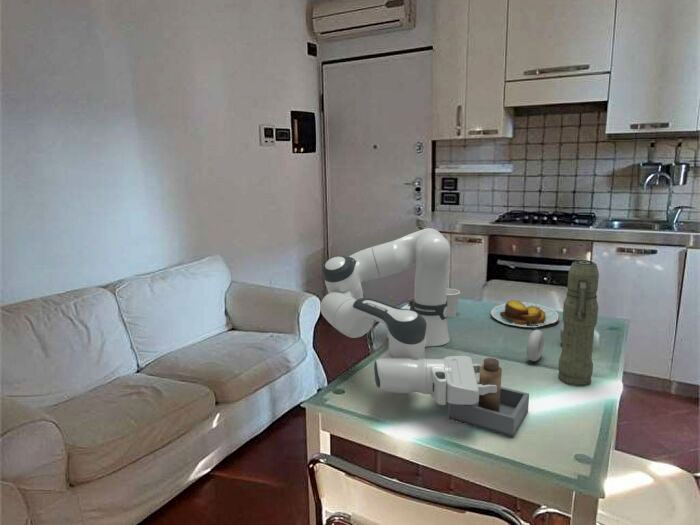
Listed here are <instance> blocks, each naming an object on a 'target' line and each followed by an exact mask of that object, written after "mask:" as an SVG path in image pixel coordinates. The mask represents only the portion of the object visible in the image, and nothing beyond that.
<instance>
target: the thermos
mask: <svg viewBox="0 0 700 525" xmlns="http://www.w3.org/2000/svg"><path fill="white" fill-rule="evenodd" d="M567 275H568V276H567V287H566V288H567V292H566V297H565V300H564V302H563V307H562V308H563V310H562V320H563V322H564V330H563V342H561V353H560V355H559V358H558V367H557V368H558V374H557V375H558V377H557V378H558V380H559V381H560V382H562V383H564V384H566V385H569V386H573V387H587V386H586V385H588V386H590V385H591V383H592V375H593V373H594V372H593V371H594V363H593V360H592V358H593V347H594V335H595V328H596V325H597V324H598V315H599V303H598V300H597V298H598V295H597V292H598V288H599V278H600V273H599V269H598V266H597V264H596V263H595V262H594V261H590V260H586V259H585V260H583V259H581V260H580V259H579V260H575V261H573V262H572V263H571V265H570V267H569V270H568V274H567Z"/></svg>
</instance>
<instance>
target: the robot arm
mask: <svg viewBox="0 0 700 525" xmlns="http://www.w3.org/2000/svg"><path fill="white" fill-rule="evenodd" d="M450 255H451V245H450V242H449V240H448V239H447V238H446V237H445V236H444V235H443V234H442V233H441V232H440V231H439V230H437V229H435V228H431V227H428V228H426V227H425V228H423V229H421V230H418V231H414V232H412V233H409V234H406V235H405V236H402V237H399V238H397V239H394V240H391V241H388V242H384V243H380V244H377V245H374V246H373V245H372V246H371V247H368V248H364V249H362V250H359V251H357V252H355V253H353V254H351V255H348V256H347V255H335V256H331V257H329V258H328V259H327V260H325V262H324V263H323V264H322V266H321V267H322V268H321V273H322V278H323V279H324V284H325V287H326V289H327V292H328V293H327V294H326V295H325V296H324V297H323V298H322V300H321V302H320V307H319V308H320V313H321V315H322V317H323V318H324V319H325V320H326V321H327V322H328V323H329V324H330V325H331V326H332V327H333V328H334V329H335V330H337V331H338V332H339V333H341V334H342V335H345V336H346V337H348V338H352V339H353V338H354V339H355V338H360V337H363V336H364V335H365V334H367V333H369V331H370V330H372V327H373V326H374V324H375V321H376V322H377V323H381V324H382V325H383V324H384V325H385V328H386V330H387V333H386V337H387V338H388V351H386V354H385V355H384V356H383V357H381V358H377V359H376V360H375V361H374V364H373V365H374V366H373V368H374V369H373V373H374V382H375V385H376V387H377V388H378V389H379V390H381V391H384V392H390V393H397V394H411V393H420V394H423V395H430V397H431V398H432V399H433V400H434V402H435V403H436V405H441V406H444V405H446V404H447V403H448V404H449V403H450V404H460V405H473V404H476V403H478V402H479V395H484V394H487V393H496V392H497V385H496V384H495V383H489V385H483V386H482V384H477V381H478V380H477V375H476V374H478V373H479V374H480V366H481V365H482V364H479V363H474V362H473V360H472V357H471V356H468V355H449V356H445V357H444V358H425V351H426V350H425V349H426V348H427V347H439V346H443V345H446V344H448V343H450V341H451V338H450V334H449V329H448V321H447V320H448V317H447V313H448V307H447V300H446V290H447V289H448V288H447V286H448V274H449V267H450V260H451V258H450ZM414 266H415V273H414V295H413V298H412V299H411V300H410V301H409V302H408V303H407V307H409V309H407V308H401V307H398V306H394V305H392V304H389V303H387V302H384V301H380V300H378V299H374V298H370V297H365V294H364V290H363V287H362V283H363V282H365V281H371V280H376V279H379V278H384V277H387V276H391V275H394V274H399V273H402V272H404V271H406V270H407V269H409V268H411V267H414Z"/></svg>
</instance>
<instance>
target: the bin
mask: <svg viewBox="0 0 700 525" xmlns="http://www.w3.org/2000/svg"><path fill="white" fill-rule="evenodd" d="M477 384H479V381H478V380H477ZM529 401H530V393H528V392H524V391H520V390H517V389H512V388H507V387H504V386H501V392H500V409H499V412H496V411H492V410H489V409H485V408H481V407H478V403H476V404H473V405H460V404H450V403H448V420H449V421H453V422H456V421H457V422H456V423H460V424H464V425H467V426H470V427H475V428H478V429H481V430H484V431H487V432H491V433H496V434H498V435H502V436H505V437H508V438H512V439H513V438H514V437H515V435H516V433H517V432H518V430H519V428H520V427H521V426H522V423H523V421H524V419H525V418H526V416H527V414H528V412H529V406H530V405H529V403H530V402H529Z"/></svg>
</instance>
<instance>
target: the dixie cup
mask: <svg viewBox="0 0 700 525" xmlns="http://www.w3.org/2000/svg"><path fill="white" fill-rule="evenodd" d="M460 293H461V291H460V290H459V289H456V288H447V290H446V300H447V307H448V313H447V318H454V317H456V316H457V311H458V305H459V299H460Z"/></svg>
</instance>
